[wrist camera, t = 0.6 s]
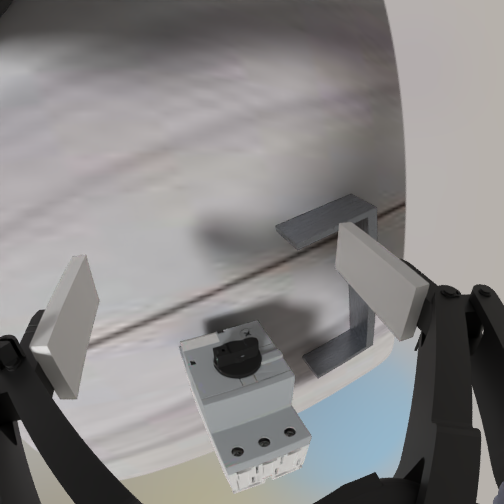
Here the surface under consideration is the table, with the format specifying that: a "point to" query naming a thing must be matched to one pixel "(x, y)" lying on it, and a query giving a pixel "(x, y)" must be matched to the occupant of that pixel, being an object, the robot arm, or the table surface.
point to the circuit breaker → (246, 404)
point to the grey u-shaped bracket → (361, 315)
